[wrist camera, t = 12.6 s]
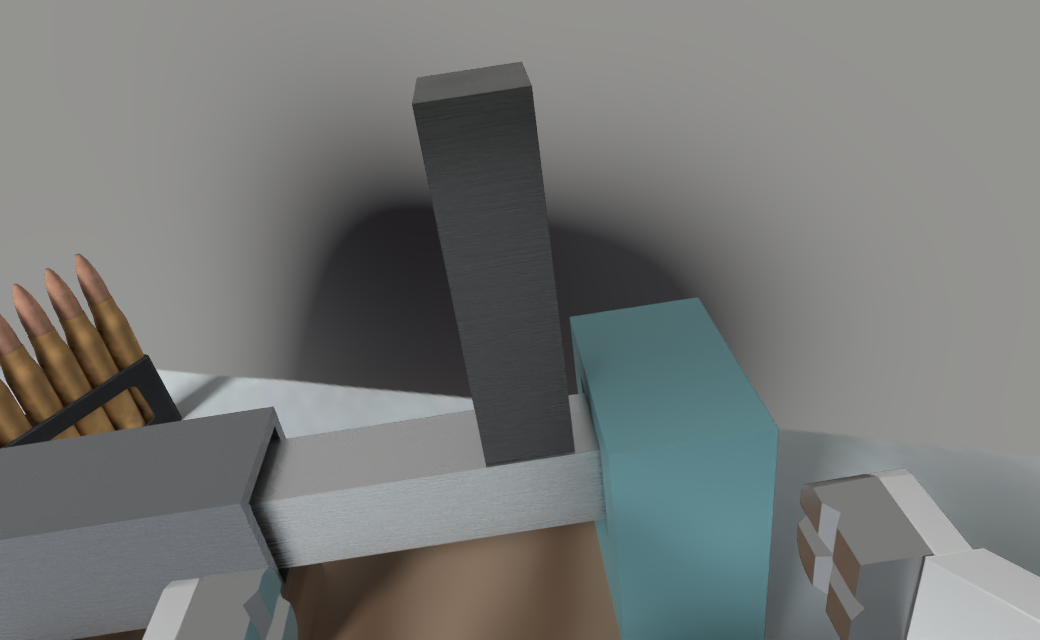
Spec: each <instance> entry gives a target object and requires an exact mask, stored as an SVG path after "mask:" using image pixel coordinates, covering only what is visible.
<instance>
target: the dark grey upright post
mask: <svg viewBox="0 0 1040 640" xmlns="http://www.w3.org/2000/svg"><path fill="white" fill-rule="evenodd" d="M412 106H413V111H414V115H415V120H416V126H417V130H418V135H419V140H420V145H421V150H422V155H423V160H424V165H425V169H426V175H427V179H428V184H429V189H430V194H431V199H432V204H433V209H434V213H435V218H436V223H437V228H438V233H439V238H440V243H441V248H442V253H443V258H444V263H445V267H446V272H447V277H448V282H449V287H450V291H451V297H452V302H453V307H454V312H455V316H456V321H457V326H458V331H459V335H460V341H461V346H462V350H463V356H464V360H465V365H466V370H467V375H468V380H469V385H470V390H471V394H472V400H473V405H474V409H475V410H472V411H465V412H459V413H452V414H446V415H439V416H433V417H426V418H420V419H413V420H407V421H400V422H394V423H387V424H381V425H374V426H368V427H361V428H355V429H348V430H342V431H335V432H329V433H322V434H316V435H309V436H303V437H296V438H290V439H283V440H277V441H270V442H269V444H268V447H267V450H266V453H265V456H264V459H263V462H262V465H261V468H260V471H259V474H258V477H257V480H256V483H255V486H254V489H253V492H252V495H251V498H250V501H249V505H250V507H251V510H252V512H253V514H254V516H255V519H256V521H257V523H258V525H259V528H260V530H261V532H262V534H263V537H264V539H265V541H266V543H267V546H268V548H269V550H270V552H271V555H272V557H273V559H274V561H275V564H276V566H277V568H278V569H284V568H290V567H297V566H303V565H310V564H316V563H323V562H329V561H336V560H342V559H348V558H355V557H361V556H368V555H374V554H381V553H387V552H394V551H400V550H407V549H413V548H420V547H426V546H433V545H439V544H446V543H452V542H459V541H465V540H471V539H478V538H484V537H491V536H497V535H504V534H510V533H517V532H523V531H530V530H536V529H543V528H549V527H556V526H562V525H569V524H575V523H582V522H588V521H594V520H601V519H607V515H606V504H605V494H604V483H603V472H602V462H601V451H600V446H599V442H598V438H597V435H596V431H595V427H594V424H593V420H592V416H591V412H590V409H589V405H588V401H587V397H586V394H585V393H582V394H577V395H569V396H568V388H567V379H566V371H565V363H564V354H563V345H562V338H561V329H560V320H559V312H558V303H557V295H556V286H555V278H554V269H553V261H552V252H551V244H550V236H549V227H548V219H547V210H546V202H545V193H544V185H543V176H542V169H541V160H540V151H539V143H538V134H537V126H536V117H535V109H534V101H533V92H532V85H531V83H530V81H529V78H528V76H527V73H526V71H525V68H524V66H523V64H522V62H517V63H510V64H504V65H497V66H490V67H484V68H477V69H471V70H465V71H458V72H451V73H445V74H439V75H431V76H425V77H418V78H417V81H416V86H415V91H414V96H413V102H412Z"/></svg>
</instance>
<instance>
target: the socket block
mask: <svg viewBox="0 0 1040 640" xmlns="http://www.w3.org/2000/svg"><path fill="white" fill-rule="evenodd" d="M570 324H571V332H572V342H573V351H574V360H575V369H576V378H577V387H578V394H582V393H585V394H586V397H587V401H588V405H589V409H590V412H591V416H592V420H593V424H594V427H595V431H596V435H597V438H598V442H599V446H600V451H601V462H602V472H603V483H604V494H605V504H606V515H607V519H601V520H594V523H595V527H596V532H597V536H598V540H599V545H600V549H601V554H602V558H603V562H604V567H605V571H606V576H607V580H608V584H609V589H610V593H611V598H612V602H613V606H614V611H615V615H616V620H617V624H618V629H619V633H620V637H621V640H764V632H765V618H766V604H767V589H768V575H769V561H770V547H771V533H772V518H773V504H774V490H775V476H776V461H777V447H778V433H779V429H778V427H777V425H776V424H775V422H774V420H773V419H772V417H771V415H770V414H769V412H768V411H767V409H766V407H765V406H764V404H763V403H762V401H761V399H760V398H759V396H758V395H757V393H756V391H755V389H754V388H753V386H752V385H751V383H750V381H749V380H748V378H747V376H746V375H745V373H744V371H743V370H742V368H741V367H740V365H739V363H738V362H737V360H736V358H735V357H734V355H733V354H732V352H731V350H730V349H729V347H728V345H727V344H726V342H725V340H724V339H723V337H722V336H721V334H720V332H719V331H718V329H717V327H716V326H715V324H714V323H713V321H712V319H711V318H710V316H709V314H708V313H707V311H706V309H705V308H704V306H703V305H702V303H701V301H700V300H699V298H698V297H697V298H690V299H684V300H678V301H670V302H665V303H657V304H651V305H645V306H638V307H632V308H626V309H618V310H612V311H605V312H600V313H593V314H586V315H580V316H573V317H570Z"/></svg>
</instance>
